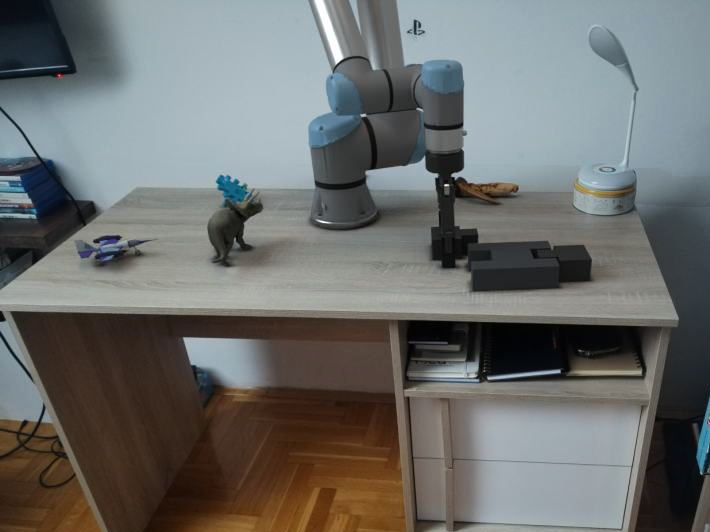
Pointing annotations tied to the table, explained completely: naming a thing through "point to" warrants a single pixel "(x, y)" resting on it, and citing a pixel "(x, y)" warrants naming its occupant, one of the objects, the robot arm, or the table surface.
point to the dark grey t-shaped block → (460, 241)
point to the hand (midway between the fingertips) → (447, 252)
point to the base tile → (511, 266)
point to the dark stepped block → (570, 261)
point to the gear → (232, 189)
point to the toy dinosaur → (231, 226)
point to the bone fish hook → (484, 190)
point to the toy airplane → (107, 247)
